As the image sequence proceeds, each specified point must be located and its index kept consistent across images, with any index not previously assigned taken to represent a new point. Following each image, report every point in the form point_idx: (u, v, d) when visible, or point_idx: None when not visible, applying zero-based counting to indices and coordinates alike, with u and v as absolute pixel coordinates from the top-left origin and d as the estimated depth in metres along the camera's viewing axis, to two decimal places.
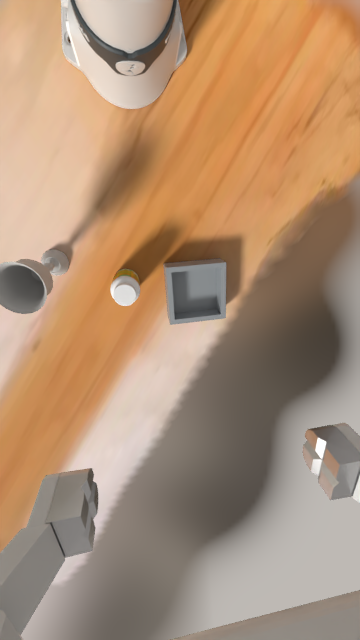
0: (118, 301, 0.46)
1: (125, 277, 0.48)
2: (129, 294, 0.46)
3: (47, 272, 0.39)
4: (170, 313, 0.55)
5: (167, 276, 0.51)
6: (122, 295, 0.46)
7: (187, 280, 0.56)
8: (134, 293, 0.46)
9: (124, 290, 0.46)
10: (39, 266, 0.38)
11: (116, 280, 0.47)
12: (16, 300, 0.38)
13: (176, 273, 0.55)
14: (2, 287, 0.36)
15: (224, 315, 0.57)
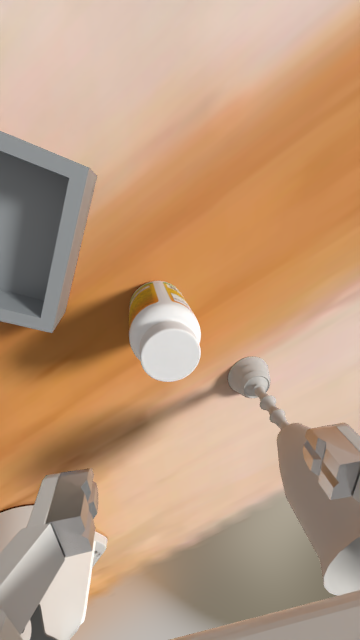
0: (194, 348, 0.17)
1: None
2: (159, 355, 0.17)
3: (290, 493, 0.18)
4: (76, 206, 0.17)
5: (53, 312, 0.20)
6: (177, 358, 0.17)
7: (11, 257, 0.21)
8: (145, 353, 0.17)
9: (166, 369, 0.17)
10: (295, 514, 0.18)
11: None
12: None
13: (37, 286, 0.22)
14: None
15: None
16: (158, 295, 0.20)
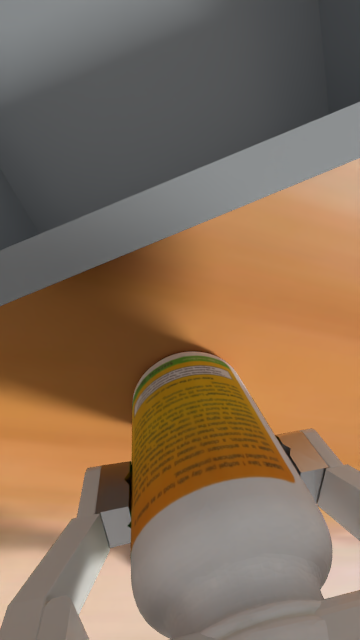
0: None
1: None
2: None
3: None
4: None
5: (40, 279, 0.06)
6: None
7: (65, 61, 0.07)
8: None
9: None
10: None
11: None
12: None
13: (49, 176, 0.08)
14: None
15: None
16: (273, 440, 0.08)
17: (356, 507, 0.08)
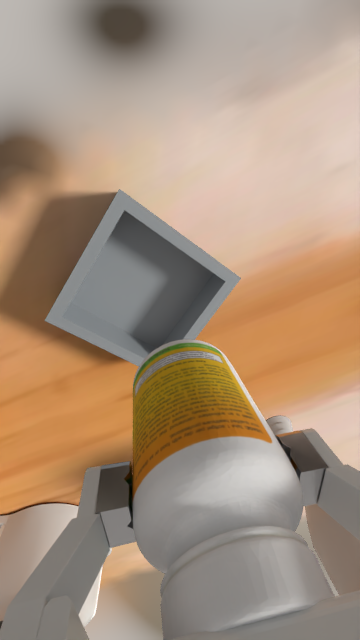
0: None
1: None
2: None
3: (320, 540, 0.25)
4: (221, 300, 0.24)
5: None
6: None
7: (144, 311, 0.27)
8: None
9: None
10: (320, 555, 0.25)
11: None
12: None
13: (153, 335, 0.28)
14: None
15: (117, 199, 0.19)
16: (256, 412, 0.09)
17: (356, 507, 0.08)
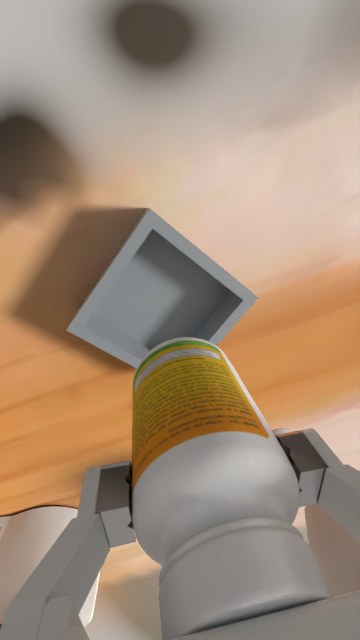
0: None
1: (139, 539, 0.08)
2: None
3: (321, 554, 0.25)
4: (238, 317, 0.24)
5: None
6: None
7: (160, 323, 0.27)
8: (226, 619, 0.05)
9: None
10: (321, 570, 0.25)
11: None
12: None
13: None
14: None
15: (147, 218, 0.20)
16: (254, 408, 0.10)
17: (356, 507, 0.08)
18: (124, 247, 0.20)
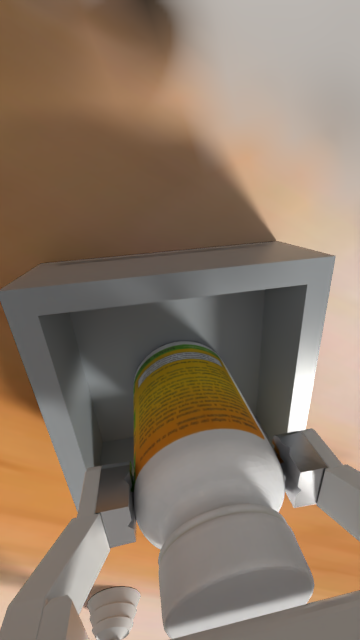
0: None
1: (138, 520, 0.09)
2: (234, 597, 0.06)
3: None
4: None
5: None
6: (242, 617, 0.07)
7: None
8: (226, 583, 0.06)
9: (204, 623, 0.07)
10: None
11: None
12: None
13: (117, 421, 0.16)
14: None
15: (318, 264, 0.10)
16: (250, 412, 0.11)
17: (355, 507, 0.08)
18: (248, 267, 0.10)
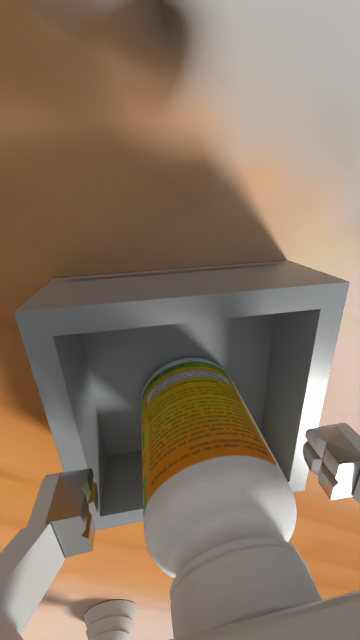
0: None
1: (148, 546, 0.09)
2: None
3: None
4: None
5: (116, 523, 0.14)
6: None
7: None
8: None
9: None
10: None
11: None
12: None
13: (122, 435, 0.16)
14: None
15: (332, 289, 0.10)
16: (261, 435, 0.11)
17: None
18: (263, 292, 0.10)
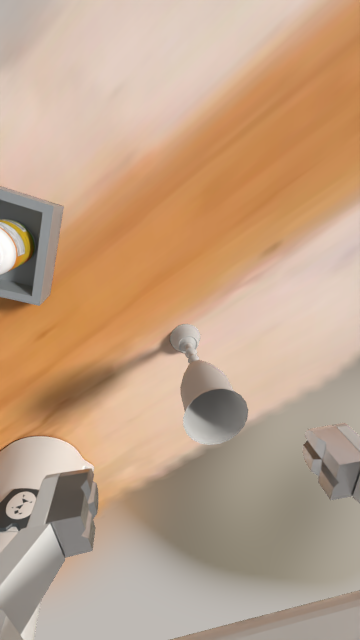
0: None
1: None
2: None
3: (181, 394, 0.30)
4: (48, 228, 0.30)
5: (39, 292, 0.32)
6: None
7: None
8: None
9: None
10: None
11: None
12: (231, 389, 0.29)
13: (30, 277, 0.35)
14: (234, 409, 0.29)
15: None
16: None
17: None
18: None
